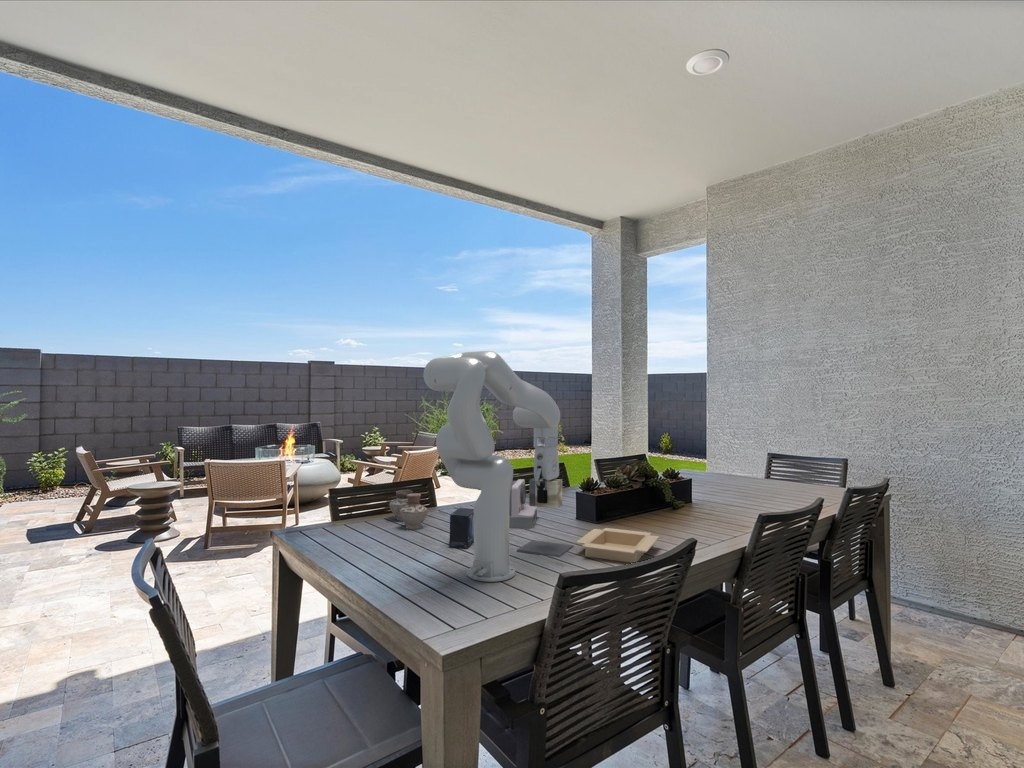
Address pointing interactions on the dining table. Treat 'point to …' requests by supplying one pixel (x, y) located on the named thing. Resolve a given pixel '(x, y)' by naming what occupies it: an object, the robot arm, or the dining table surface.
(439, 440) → the robot arm
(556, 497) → the box
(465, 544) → the small box
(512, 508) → the grey l-shaped block
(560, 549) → the mat
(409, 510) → the pottery
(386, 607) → the dining table surface
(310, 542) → the dining table surface
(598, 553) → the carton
